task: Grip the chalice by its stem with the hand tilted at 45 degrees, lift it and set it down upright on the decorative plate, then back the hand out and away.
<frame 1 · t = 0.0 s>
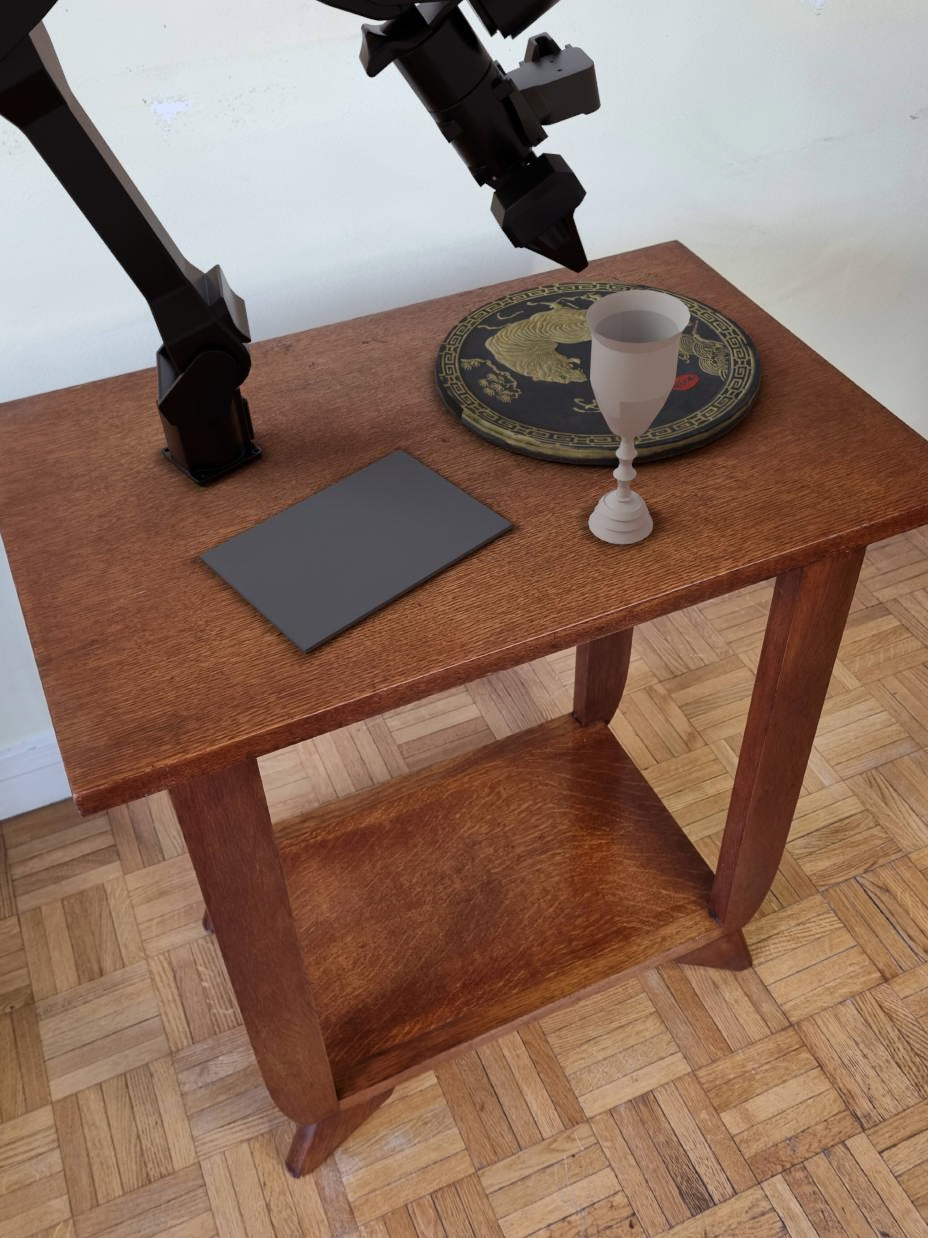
hand: (566, 242, 88), 15 cm above the table, tool tilted 35°, fingers open, 9 cm apart
chalice: (620, 525, 86), on the table
decorative plate: (595, 374, 101), on the table
felt mat: (357, 543, 85), on the table
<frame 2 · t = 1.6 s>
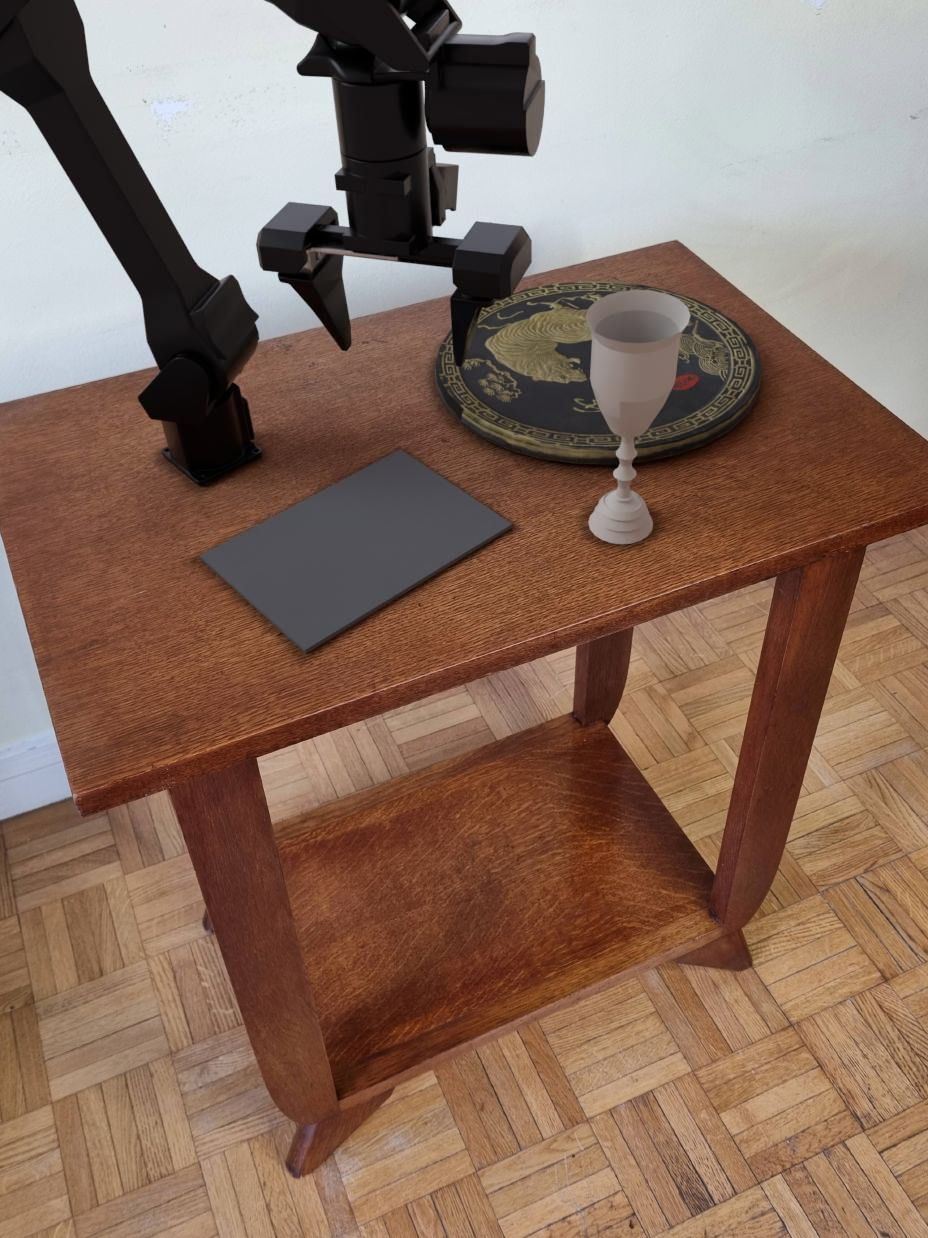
hand: (403, 355, 82), 12 cm above the table, tool pointing down, fingers open, 9 cm apart
nothing on the table moved.
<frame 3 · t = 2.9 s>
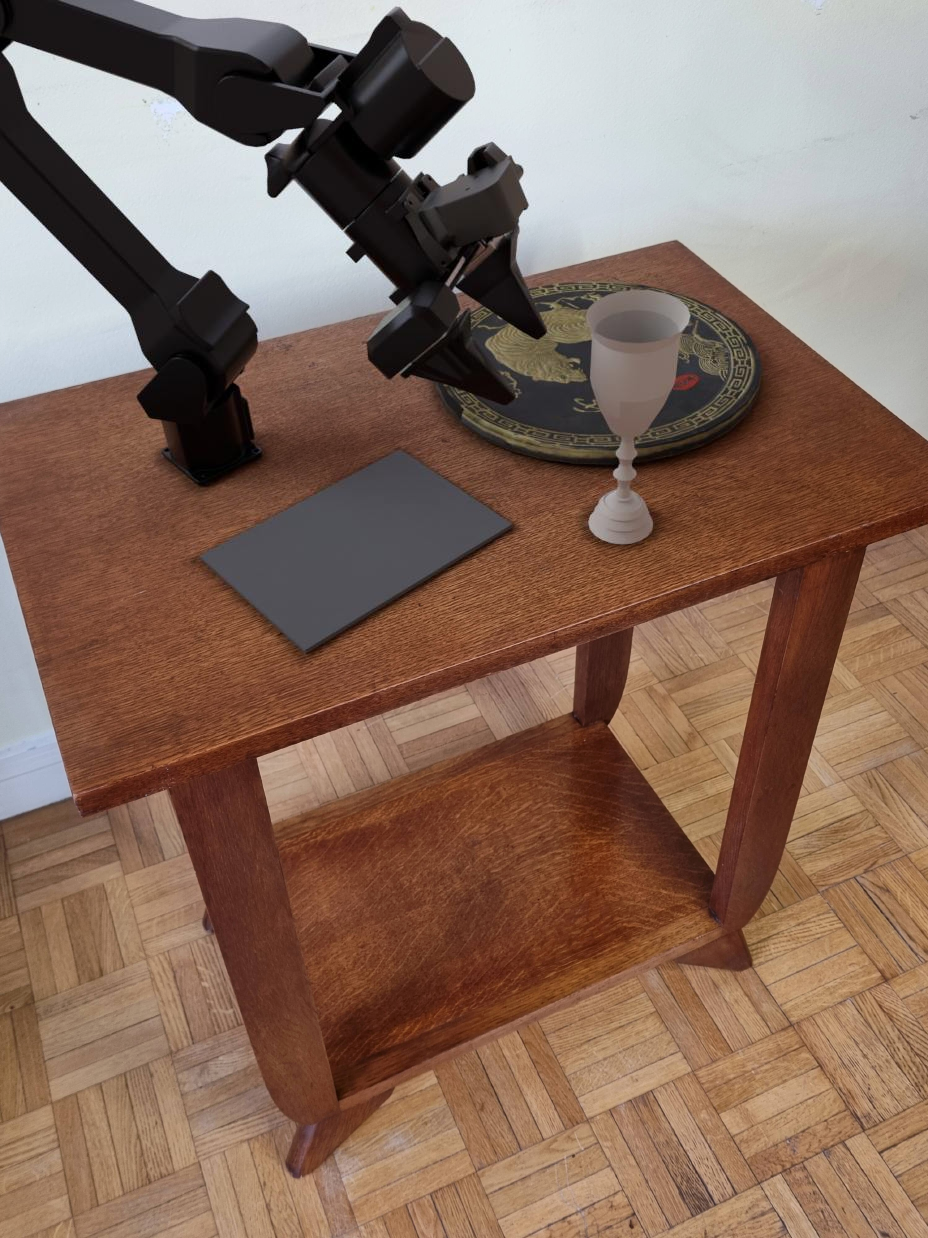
hand: (527, 367, 79), 13 cm above the table, tool tilted 45°, fingers open, 9 cm apart
nothing on the table moved.
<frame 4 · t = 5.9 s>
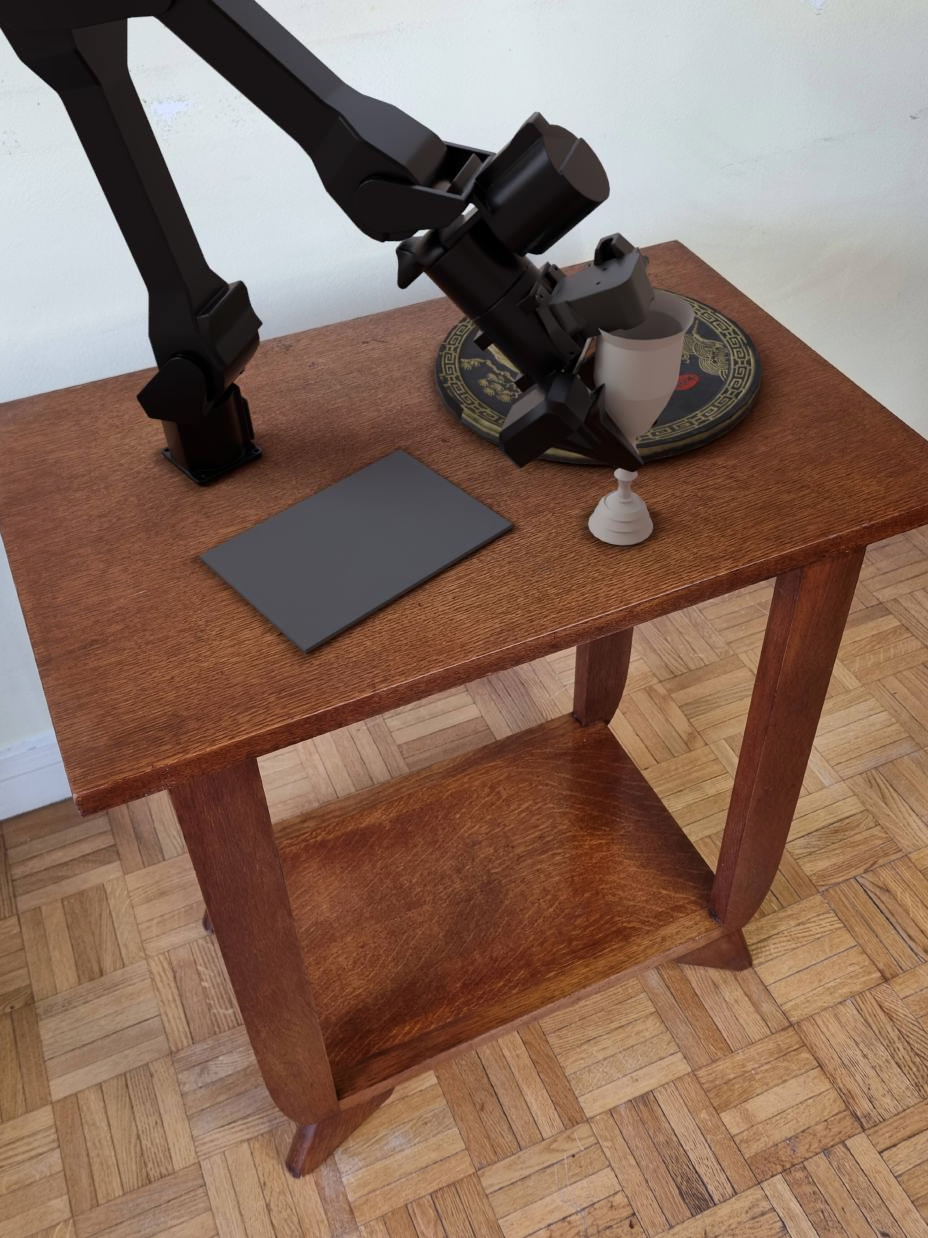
hand: (646, 446, 80), 8 cm above the table, tool tilted 45°, fingers closed on chalice, 5 cm apart
chalice: (620, 526, 86), on the table, touching gripper
everything else where it was.
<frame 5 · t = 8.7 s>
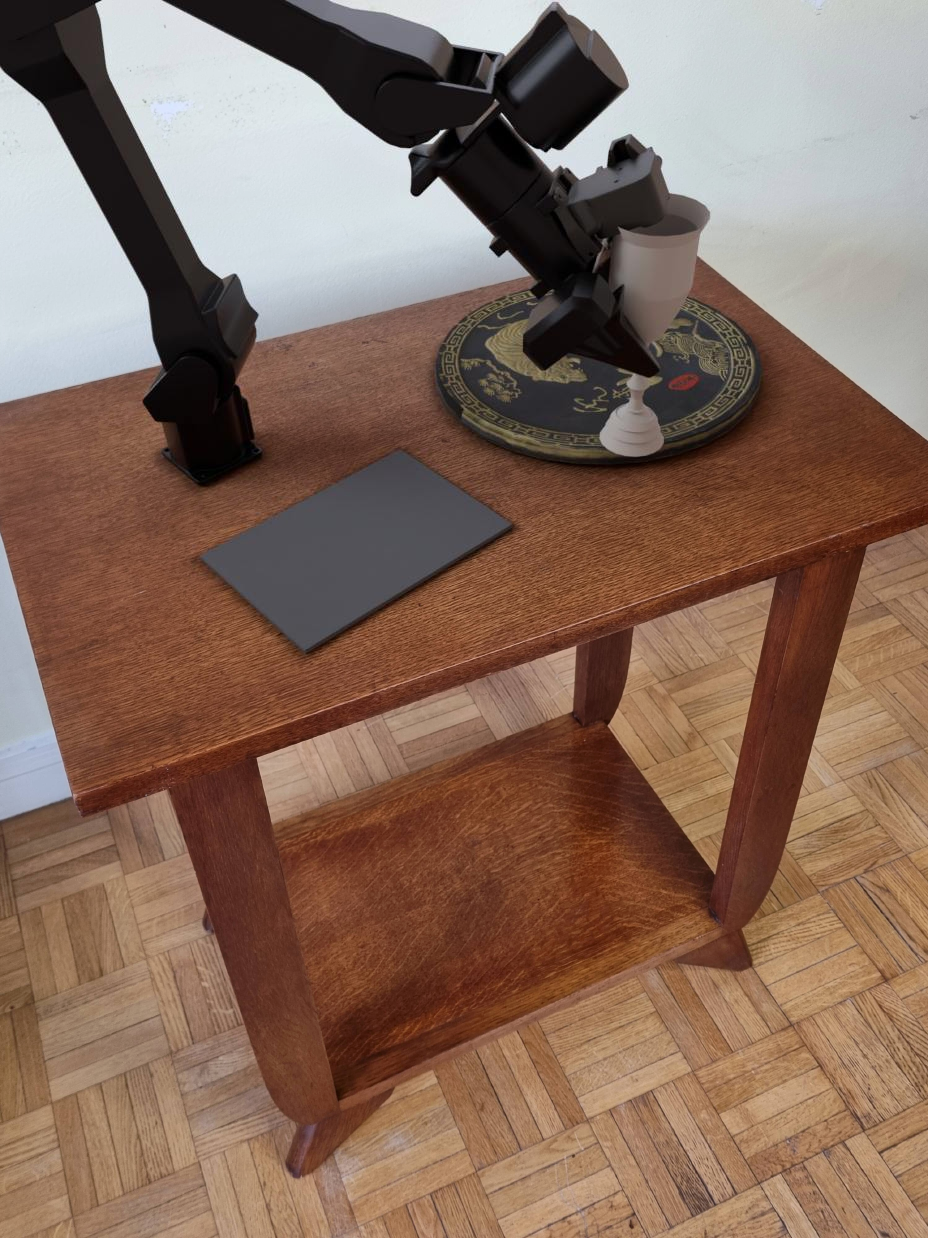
hand: (659, 353, 80), 12 cm above the table, tool tilted 45°, fingers closed on chalice, 5 cm apart
chalice: (631, 439, 86), point 5 cm above the table, touching gripper
everything else where it was.
when the fingers open (9 cm above the table, at t = 11.9 s): chalice stays where it is, resting on decorative plate.
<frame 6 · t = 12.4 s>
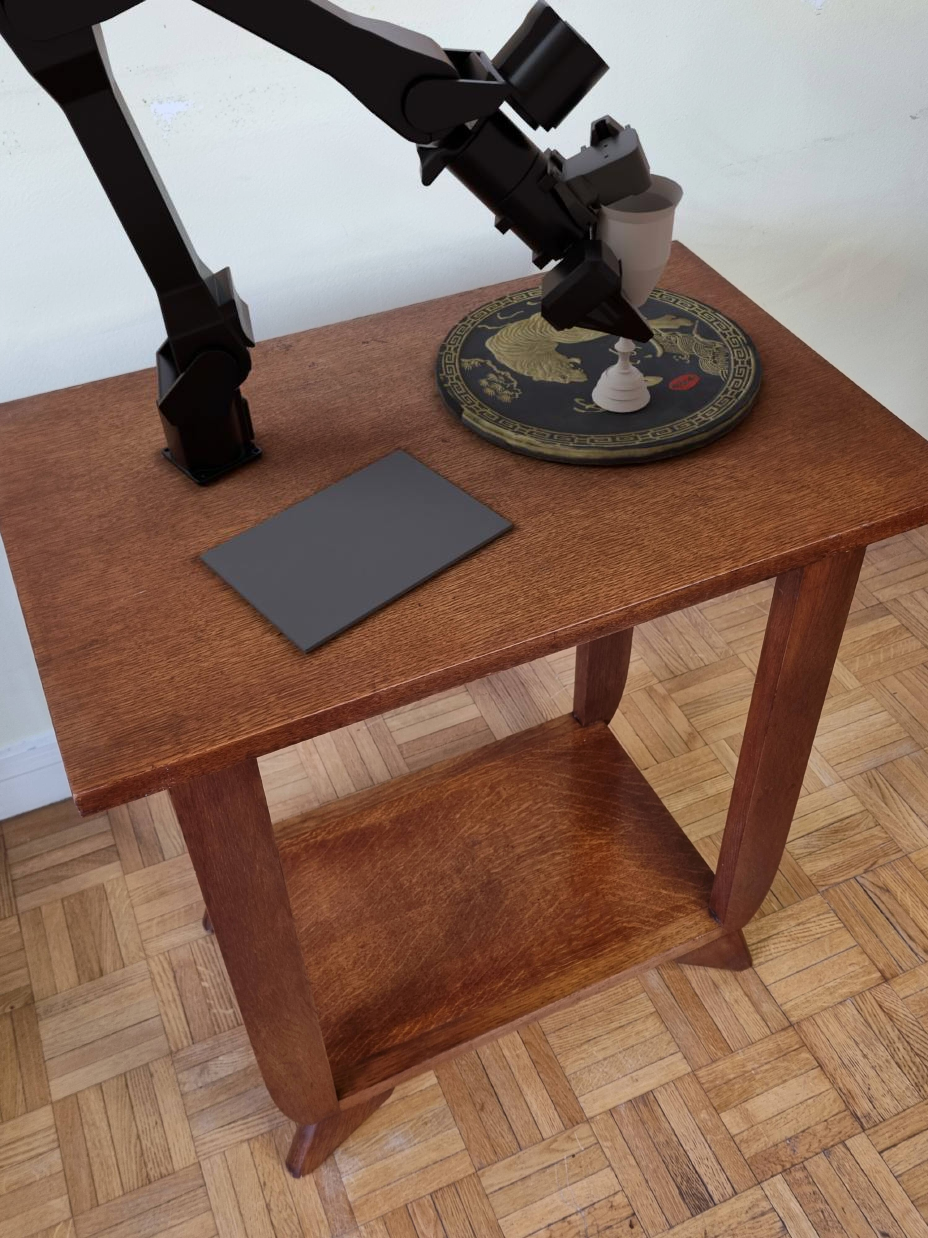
hand: (646, 309, 90), 10 cm above the table, tool tilted 45°, fingers open, 9 cm apart
chalice: (620, 397, 95), point 2 cm above the table, touching decorative plate, gripper
decorative plate: (595, 374, 101), on the table, touching chalice
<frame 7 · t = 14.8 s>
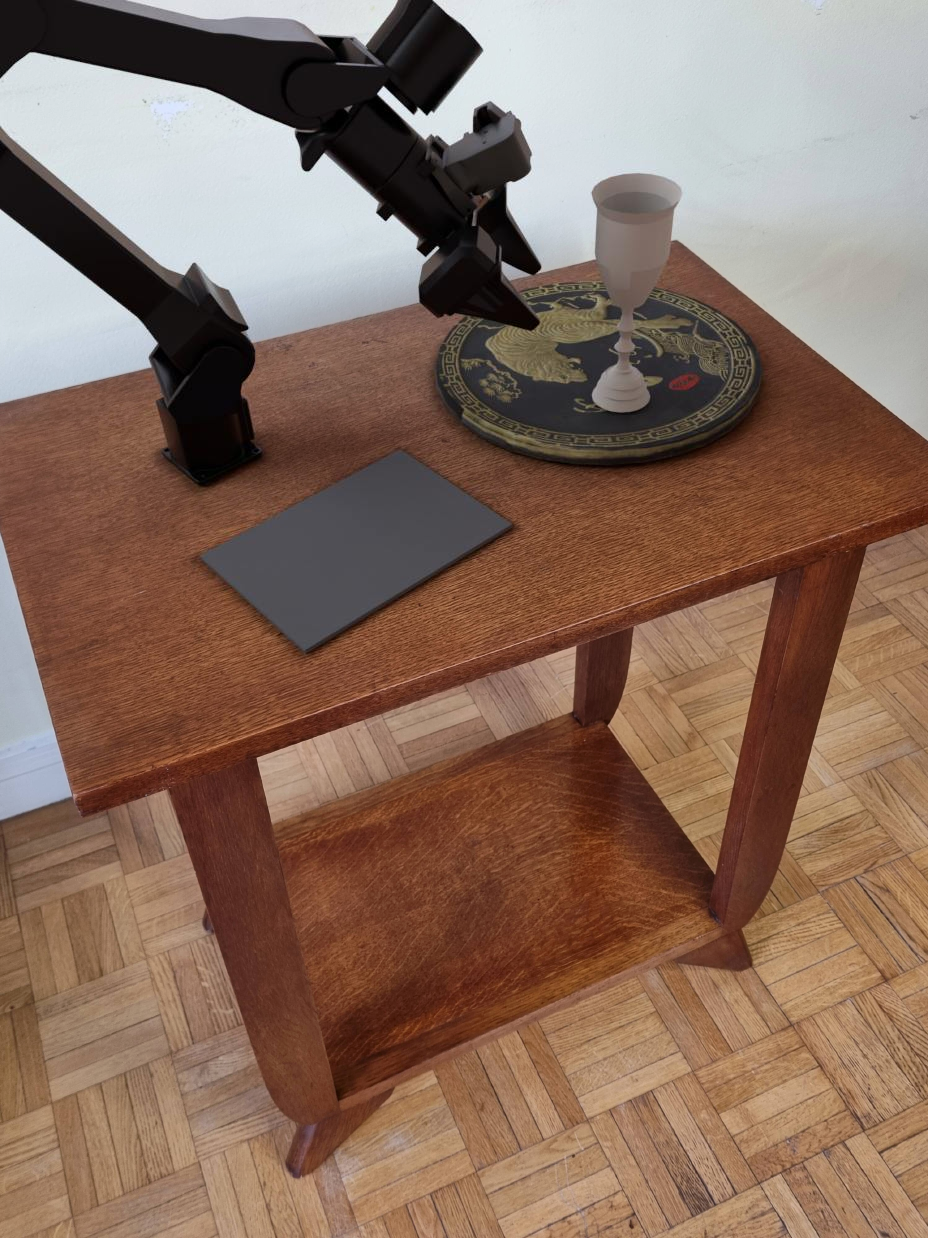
hand: (537, 297, 89), 11 cm above the table, tool tilted 45°, fingers open, 9 cm apart
chalice: (620, 397, 95), point 2 cm above the table, touching decorative plate
everything else where it was.
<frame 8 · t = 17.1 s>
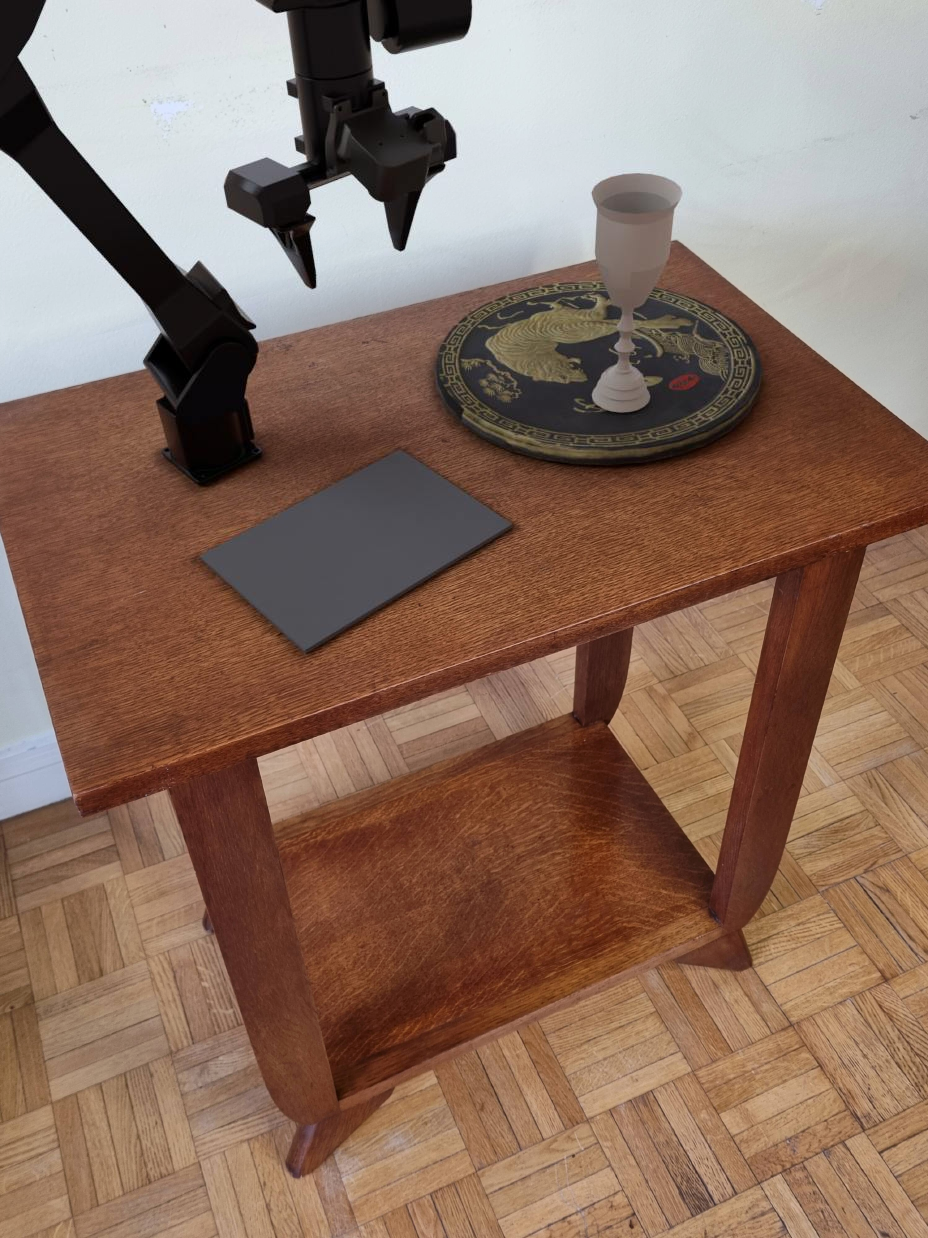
hand: (356, 267, 90), 13 cm above the table, tool pointing down, fingers open, 9 cm apart
nothing on the table moved.
at the end: chalice inside the target area on the decorative plate (7.0 cm from its centre), point 1.8 cm above the decorative plate's base; chalice tilted 0°; the gripper is holding nothing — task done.
